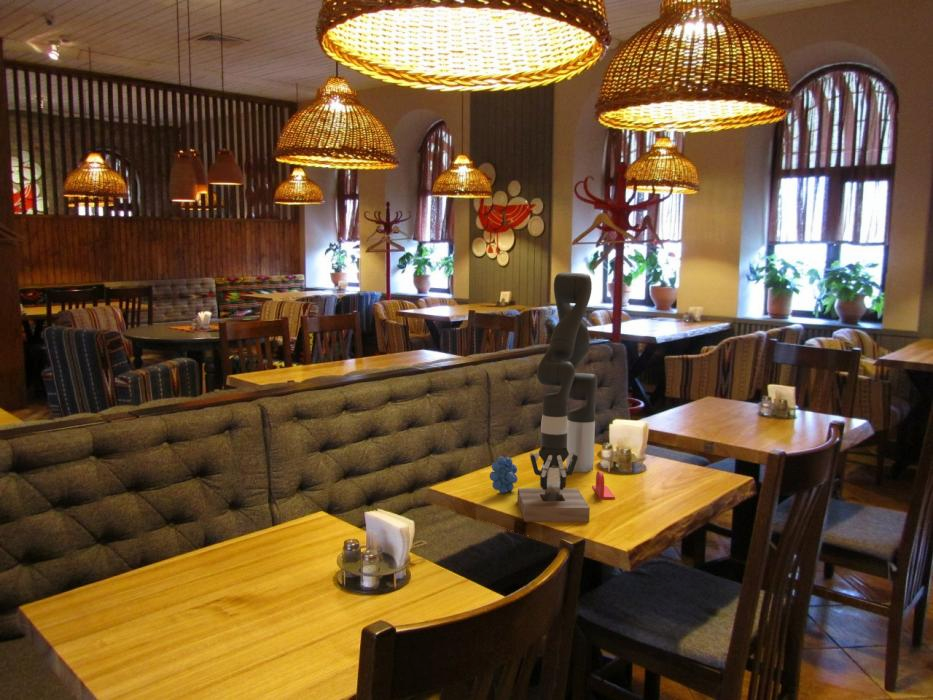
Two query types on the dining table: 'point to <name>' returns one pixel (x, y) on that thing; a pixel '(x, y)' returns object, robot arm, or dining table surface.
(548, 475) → the peg
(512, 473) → the grapes
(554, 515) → the socket block
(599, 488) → the bracket
